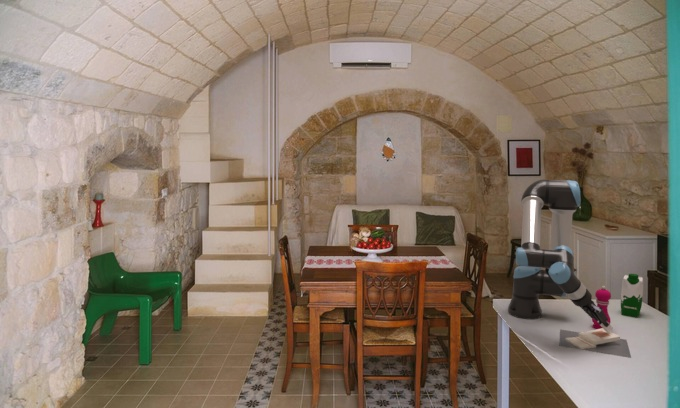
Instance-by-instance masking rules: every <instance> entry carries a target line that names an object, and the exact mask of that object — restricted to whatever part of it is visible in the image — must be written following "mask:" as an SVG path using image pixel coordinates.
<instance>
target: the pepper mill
mask: <svg viewBox="0 0 680 408" xmlns="http://www.w3.org/2000/svg"><path fill="white" fill-rule="evenodd" d="M594 295H595V297H596V301H595V304H596V306H597V307H602V310H603V312H604V313H605V315H606V316H607V318H608V320H607V322H608V323H609V324H610V325H611V323H612V322H611V317H610V314H609V312H608V311H609V310H608V306H609V305H610V300H611V298H612V295H611V291H609V290H608V289H607V287H606V286H605V285H602V286H601V288H599V289H597V290H596V291H595V294H594ZM591 322H592V323H593V324H592V328H593V329H594V330H596V329H601V328H602V327H601V325H600V324H599V323H598V322H597V321H595V320H594V318H591Z"/></svg>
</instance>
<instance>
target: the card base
mask: <svg viewBox="0 0 680 408" xmlns="http://www.w3.org/2000/svg"><path fill="white" fill-rule="evenodd" d="M565 340H566V341H568V342H570V343H571V344H573V345H575V346H577V347H578V348H580V349H579V350H581V349H585V348H594V347H596V345H594V344H592V343H590V342H589V341H587V340H585V339H583V338H581V337H571V338H565Z"/></svg>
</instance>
